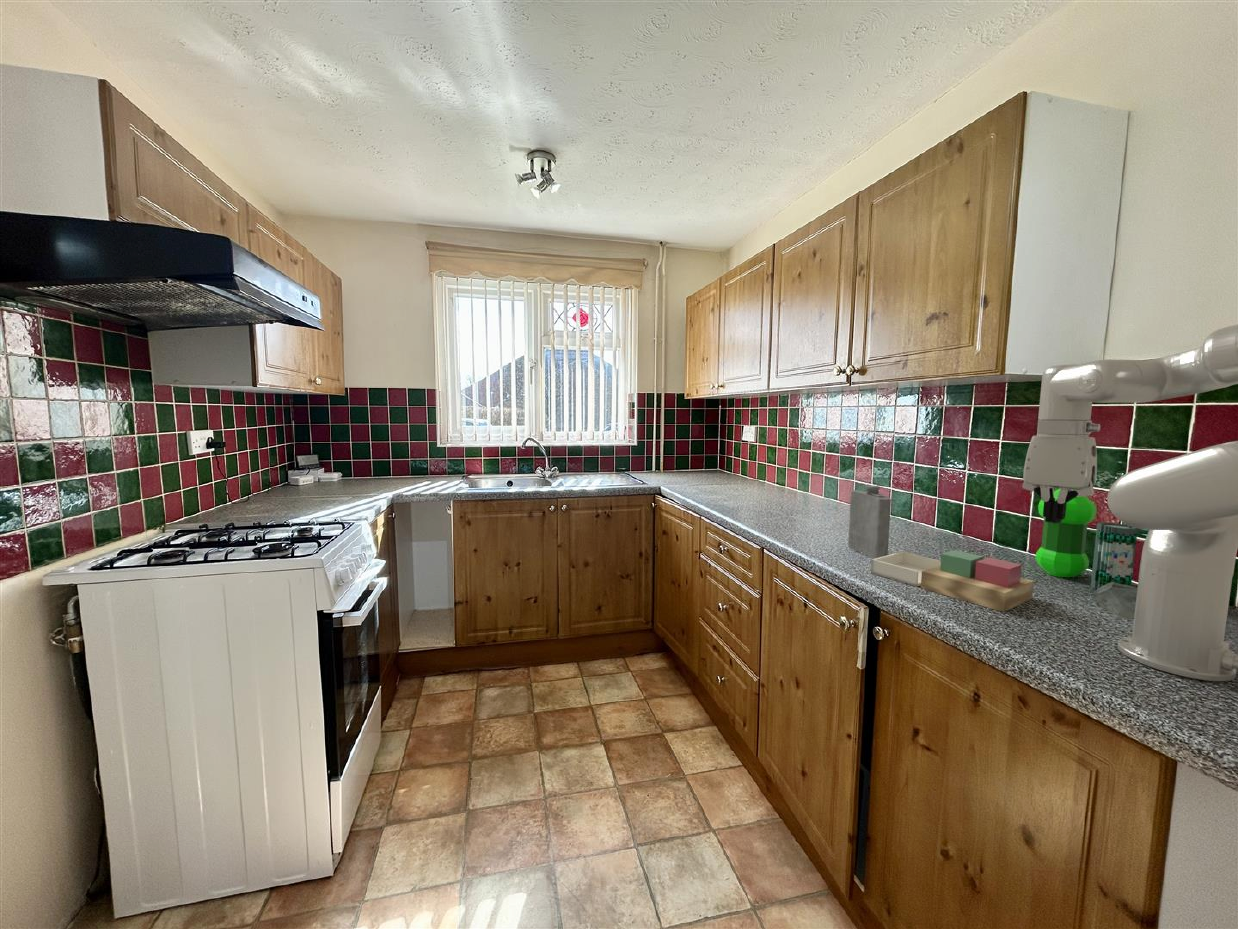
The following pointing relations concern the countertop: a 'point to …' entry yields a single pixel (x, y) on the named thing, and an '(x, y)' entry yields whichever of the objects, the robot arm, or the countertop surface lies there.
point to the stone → (1118, 599)
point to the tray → (903, 567)
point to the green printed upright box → (1113, 554)
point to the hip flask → (869, 522)
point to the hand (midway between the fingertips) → (1053, 521)
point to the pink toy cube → (998, 572)
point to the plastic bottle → (1066, 539)
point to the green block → (959, 563)
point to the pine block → (977, 589)
